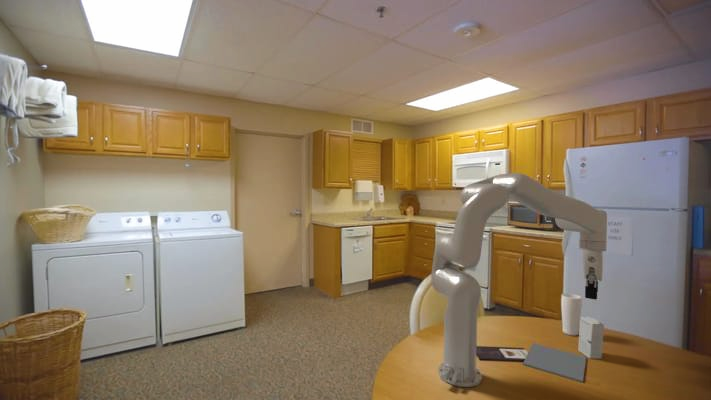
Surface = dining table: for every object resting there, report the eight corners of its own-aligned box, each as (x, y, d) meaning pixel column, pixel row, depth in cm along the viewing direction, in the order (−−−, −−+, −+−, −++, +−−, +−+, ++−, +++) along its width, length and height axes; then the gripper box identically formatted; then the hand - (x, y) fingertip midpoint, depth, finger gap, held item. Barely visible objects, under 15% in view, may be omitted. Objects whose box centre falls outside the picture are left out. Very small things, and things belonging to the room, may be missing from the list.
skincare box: (577, 350, 116) (578, 316, 116) (589, 350, 116) (590, 316, 116) (590, 359, 110) (591, 323, 110) (603, 359, 110) (604, 323, 110)
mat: (582, 382, 96) (582, 381, 96) (523, 364, 106) (523, 363, 106) (586, 358, 111) (586, 356, 111) (533, 344, 121) (533, 343, 120)
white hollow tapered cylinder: (584, 337, 127) (585, 298, 126) (567, 337, 127) (568, 298, 126) (573, 329, 134) (574, 293, 133) (556, 329, 134) (557, 293, 133)
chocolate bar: (471, 345, 118) (523, 347, 117) (471, 348, 118) (523, 350, 117) (479, 358, 109) (535, 360, 108) (479, 361, 109) (535, 363, 108)
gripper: (606, 250, 103) (605, 304, 104) (606, 243, 117) (605, 290, 117) (577, 247, 108) (576, 299, 108) (581, 241, 121) (580, 287, 122)
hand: (591, 294), depth 113 cm, fingers open, 9 cm apart
